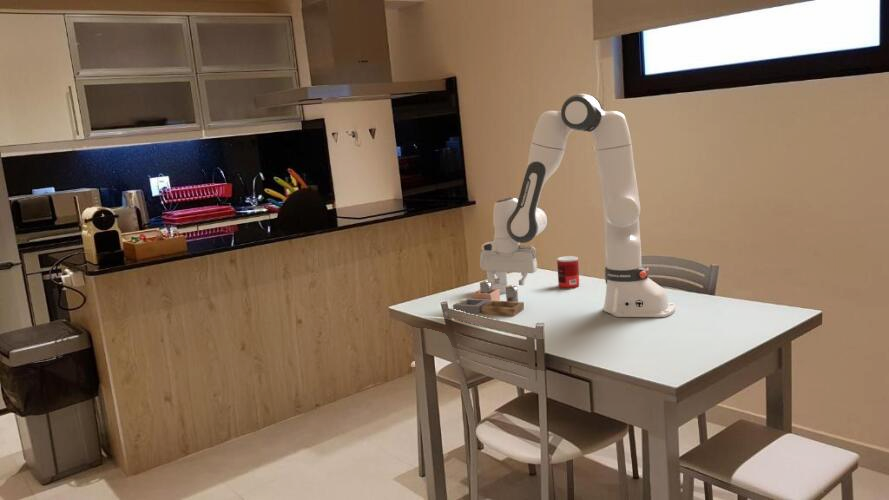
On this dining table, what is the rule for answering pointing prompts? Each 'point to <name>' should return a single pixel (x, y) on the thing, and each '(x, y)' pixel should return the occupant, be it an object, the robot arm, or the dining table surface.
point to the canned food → (568, 272)
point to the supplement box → (503, 280)
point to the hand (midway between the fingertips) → (509, 284)
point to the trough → (503, 308)
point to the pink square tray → (487, 295)
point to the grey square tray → (471, 305)
